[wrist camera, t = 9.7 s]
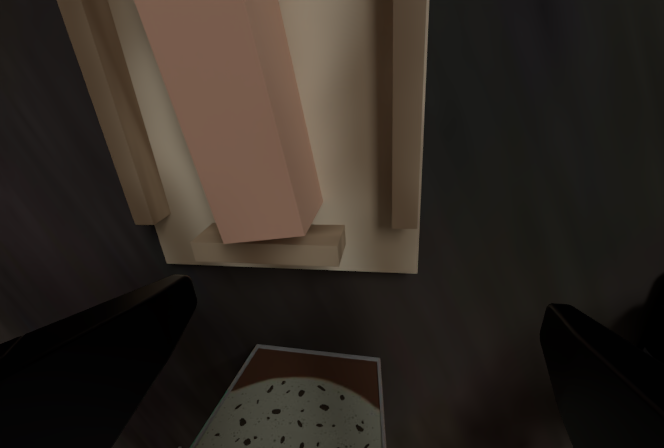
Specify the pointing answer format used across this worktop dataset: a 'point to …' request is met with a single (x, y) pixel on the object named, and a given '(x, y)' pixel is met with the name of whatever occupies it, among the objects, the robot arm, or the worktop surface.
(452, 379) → the worktop surface
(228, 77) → the pinkish brown block
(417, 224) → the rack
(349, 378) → the food container
